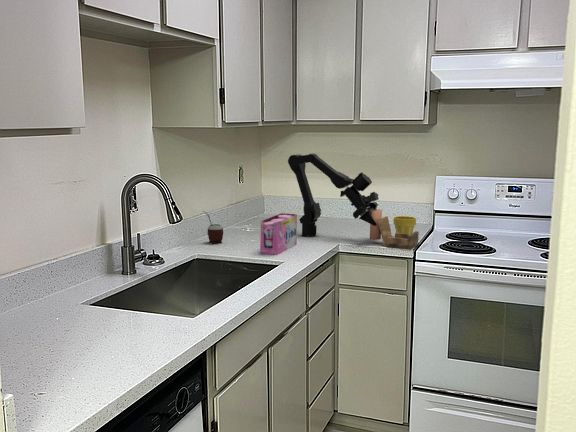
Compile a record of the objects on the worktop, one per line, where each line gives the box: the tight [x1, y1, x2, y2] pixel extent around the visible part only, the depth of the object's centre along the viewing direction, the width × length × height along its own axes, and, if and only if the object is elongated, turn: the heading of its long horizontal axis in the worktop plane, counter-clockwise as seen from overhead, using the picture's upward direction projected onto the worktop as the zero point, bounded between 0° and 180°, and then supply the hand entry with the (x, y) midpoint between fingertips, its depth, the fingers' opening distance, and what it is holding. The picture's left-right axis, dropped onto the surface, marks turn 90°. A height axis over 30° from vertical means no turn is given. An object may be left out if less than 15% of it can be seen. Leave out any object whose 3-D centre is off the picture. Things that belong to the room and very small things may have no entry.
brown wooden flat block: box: [378, 215, 393, 247], centre depth 251 cm, size 4×10×12 cm, turn 152°
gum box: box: [259, 212, 298, 255], centre depth 239 cm, size 24×8×14 cm, turn 158°
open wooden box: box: [386, 230, 420, 251], centre depth 247 cm, size 10×12×6 cm
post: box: [369, 208, 383, 241], centre depth 252 cm, size 5×5×13 cm
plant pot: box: [393, 215, 417, 234], centre depth 264 cm, size 10×10×10 cm
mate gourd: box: [202, 210, 224, 245], centre depth 249 cm, size 8×8×15 cm
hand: (377, 224), depth 252 cm, fingers closed on post, 5 cm apart
